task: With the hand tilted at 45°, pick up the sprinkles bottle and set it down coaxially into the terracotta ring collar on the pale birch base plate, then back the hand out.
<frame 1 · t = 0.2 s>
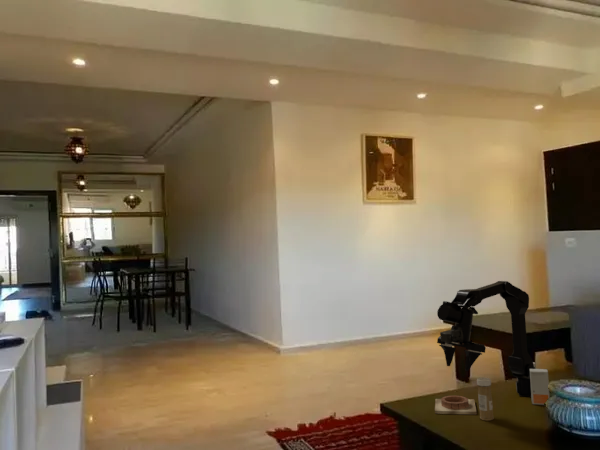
hand: (457, 368, 187), 15 cm above the table, tool tilted 15°, fingers open, 9 cm apart
sprinkles bottle: (486, 419, 177), on the table
collar base: (455, 407, 191), on the table
supplement bottle: (531, 387, 210), on the table
skincare box: (541, 403, 190), on the table
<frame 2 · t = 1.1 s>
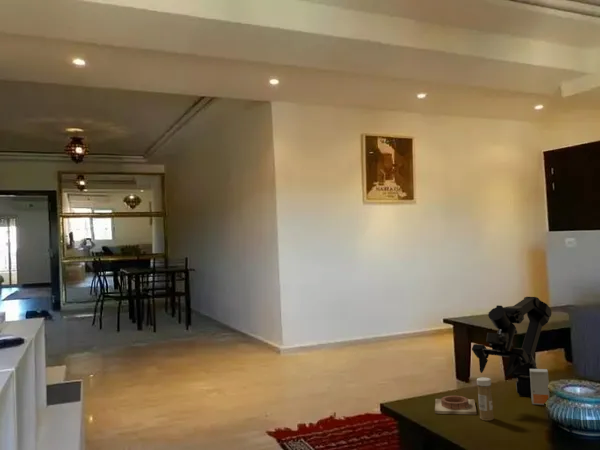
hand: (493, 374, 183), 13 cm above the table, tool tilted 45°, fingers open, 9 cm apart
nothing on the table moved.
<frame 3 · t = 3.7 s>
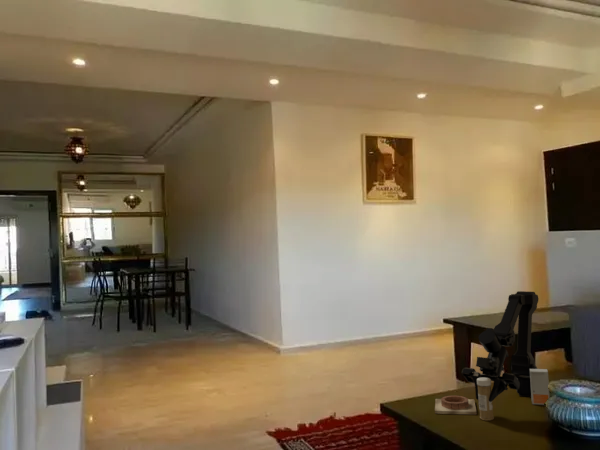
hand: (483, 400, 177), 7 cm above the table, tool tilted 45°, fingers closed on sprinkles bottle, 4 cm apart
sprinkles bottle: (486, 419, 177), on the table, touching gripper
everything else where it was.
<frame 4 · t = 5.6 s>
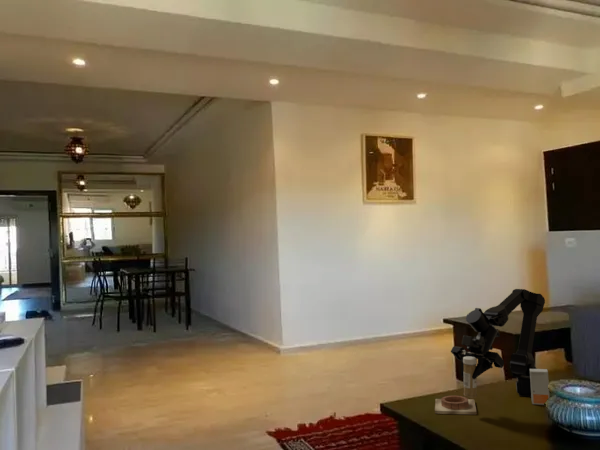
hand: (467, 377, 182), 13 cm above the table, tool tilted 45°, fingers closed on sprinkles bottle, 4 cm apart
sprinkles bottle: (470, 396, 183), point 6 cm above the table, touching gripper
everything else where it was.
when the fingers open (9 cm above the table, at t = 7.6 s): sprinkles bottle stays where it is, resting on collar base.
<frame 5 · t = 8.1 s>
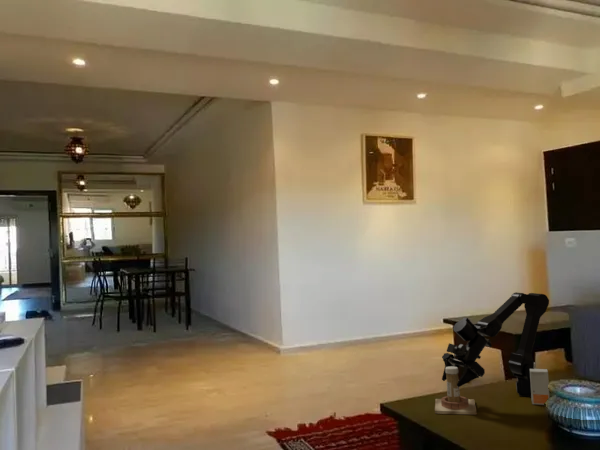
hand: (450, 383, 191), 9 cm above the table, tool tilted 45°, fingers open, 9 cm apart
sprinkles bottle: (454, 405, 191), point 1 cm above the table, touching collar base
everything else where it was.
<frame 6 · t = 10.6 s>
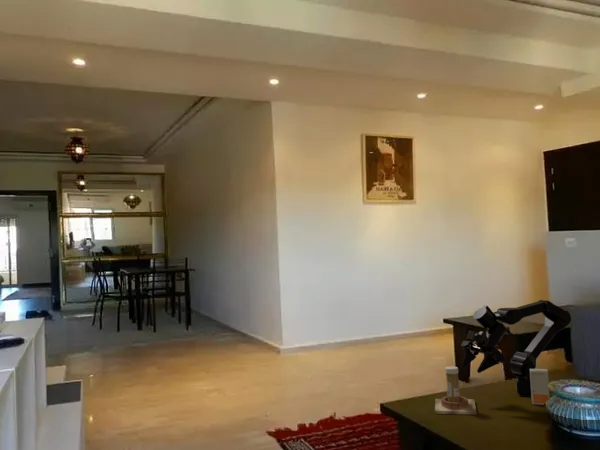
hand: (470, 369, 194), 13 cm above the table, tool tilted 45°, fingers open, 9 cm apart
nothing on the table moved.
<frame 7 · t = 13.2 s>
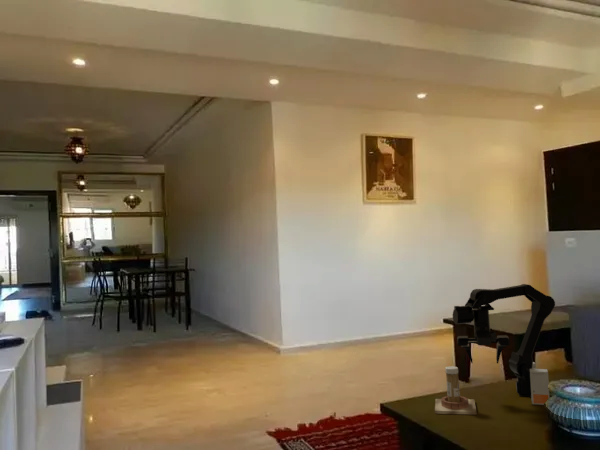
hand: (484, 363, 201), 13 cm above the table, tool pointing down, fingers open, 9 cm apart
nothing on the table moved.
at the end: sprinkles bottle 0.5 cm off-centre on the collar base, point 0.8 cm above the collar base's base; sprinkles bottle tilted 0°; the gripper is holding nothing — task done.
